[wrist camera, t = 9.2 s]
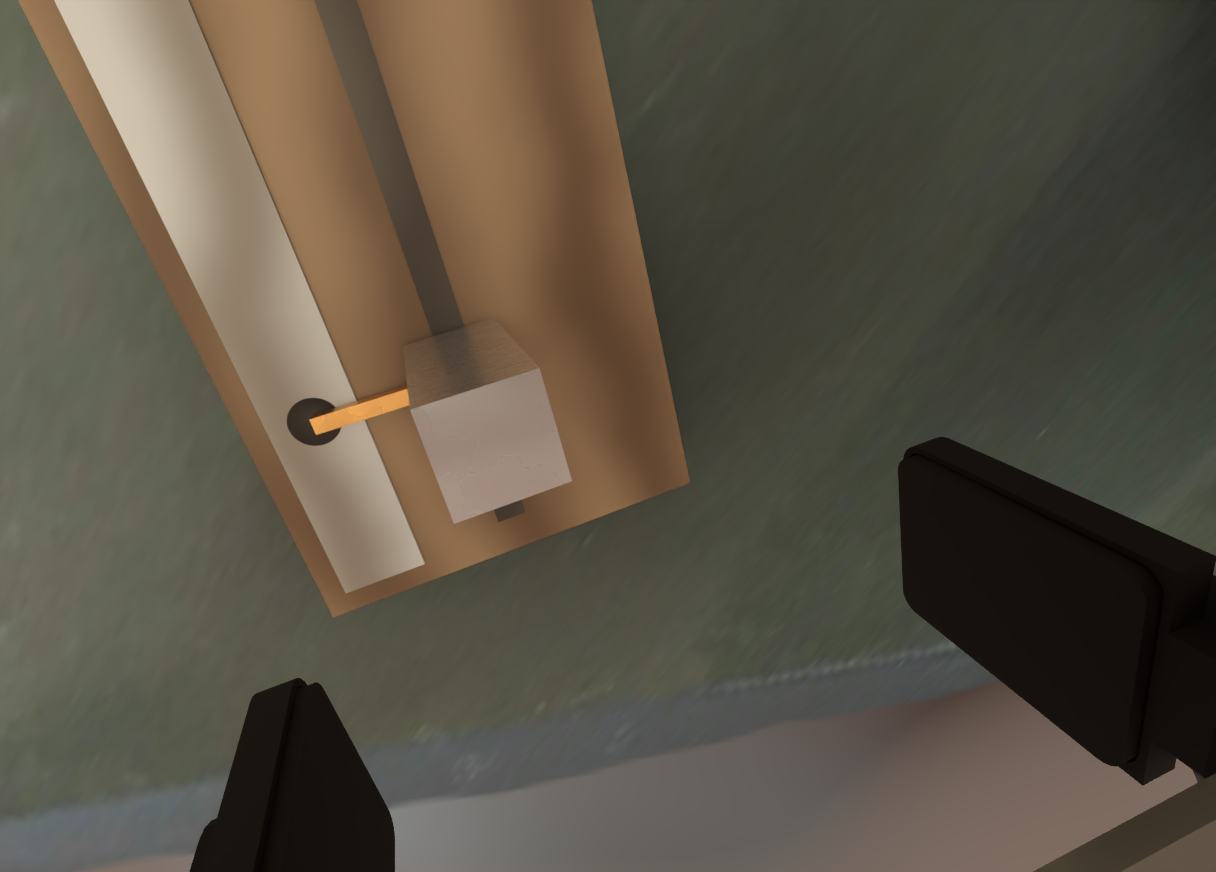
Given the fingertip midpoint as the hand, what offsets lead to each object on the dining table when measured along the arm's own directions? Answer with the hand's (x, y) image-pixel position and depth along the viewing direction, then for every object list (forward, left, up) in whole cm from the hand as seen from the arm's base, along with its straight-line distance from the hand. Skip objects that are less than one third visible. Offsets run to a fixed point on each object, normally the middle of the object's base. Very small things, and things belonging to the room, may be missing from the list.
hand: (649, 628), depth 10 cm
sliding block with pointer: (+3, 0, -16) cm, 17 cm away
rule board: (+1, -5, -19) cm, 19 cm away
